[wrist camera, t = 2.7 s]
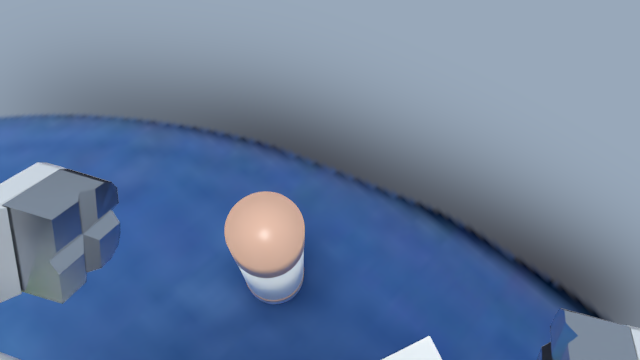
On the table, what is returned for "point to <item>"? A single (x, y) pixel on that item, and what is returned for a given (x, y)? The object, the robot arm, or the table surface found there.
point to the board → (417, 351)
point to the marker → (268, 245)
